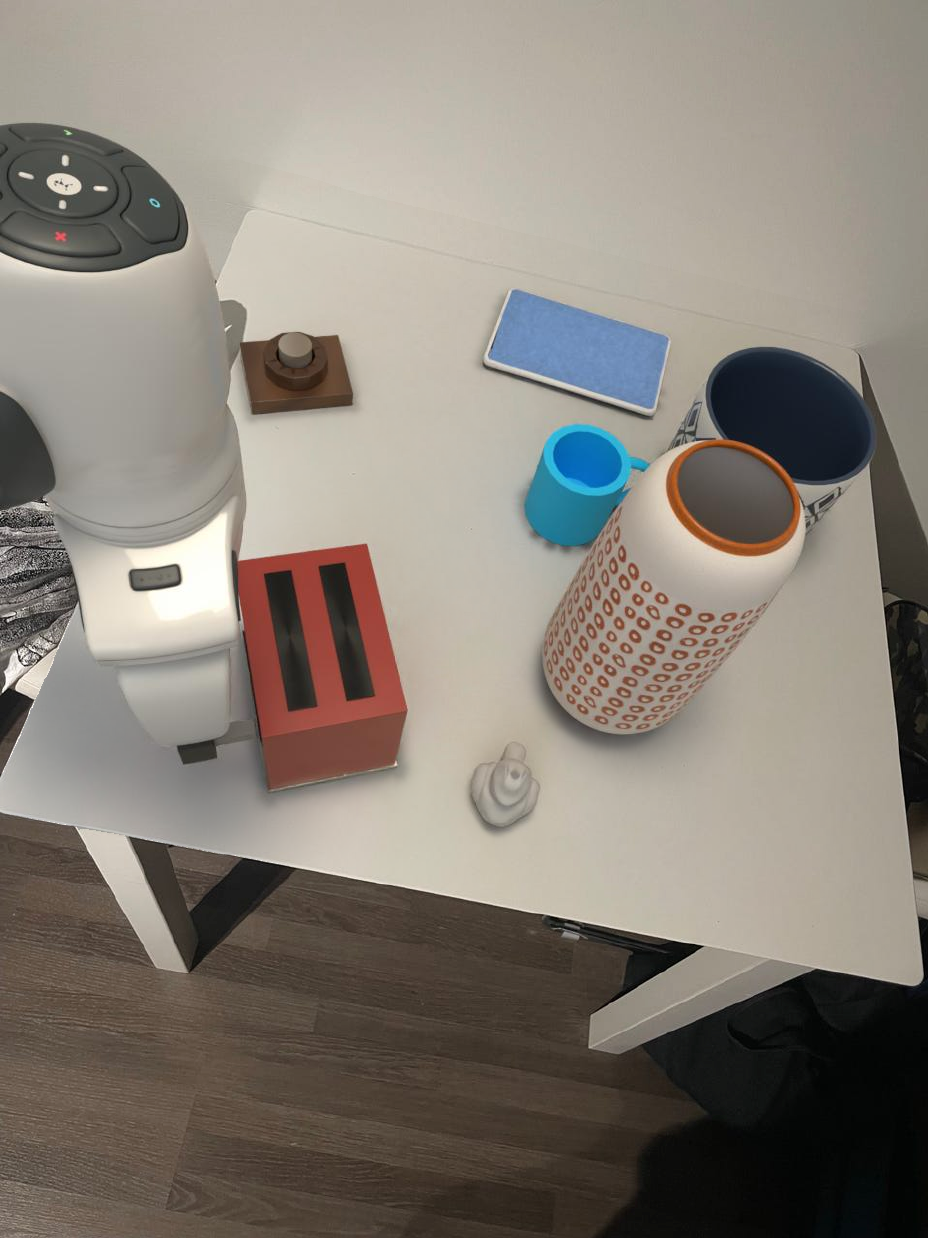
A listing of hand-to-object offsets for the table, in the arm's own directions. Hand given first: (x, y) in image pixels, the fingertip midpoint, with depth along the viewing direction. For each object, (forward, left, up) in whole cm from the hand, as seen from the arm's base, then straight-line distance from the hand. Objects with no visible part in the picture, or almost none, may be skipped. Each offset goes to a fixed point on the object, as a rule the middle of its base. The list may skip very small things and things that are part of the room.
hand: (187, 621), depth 53 cm
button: (+12, +36, -16) cm, 41 cm away
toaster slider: (0, -3, -13) cm, 13 cm away
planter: (+52, +14, -19) cm, 57 cm away
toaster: (+8, +1, -19) cm, 21 cm away
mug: (+37, +16, -19) cm, 45 cm away
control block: (+12, +36, -19) cm, 43 cm away
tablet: (+43, +36, -19) cm, 60 cm away
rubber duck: (+21, -10, -19) cm, 30 cm away
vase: (+33, -2, -19) cm, 38 cm away
